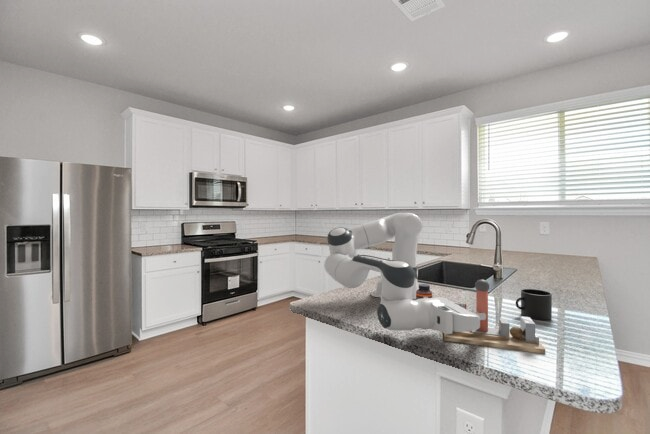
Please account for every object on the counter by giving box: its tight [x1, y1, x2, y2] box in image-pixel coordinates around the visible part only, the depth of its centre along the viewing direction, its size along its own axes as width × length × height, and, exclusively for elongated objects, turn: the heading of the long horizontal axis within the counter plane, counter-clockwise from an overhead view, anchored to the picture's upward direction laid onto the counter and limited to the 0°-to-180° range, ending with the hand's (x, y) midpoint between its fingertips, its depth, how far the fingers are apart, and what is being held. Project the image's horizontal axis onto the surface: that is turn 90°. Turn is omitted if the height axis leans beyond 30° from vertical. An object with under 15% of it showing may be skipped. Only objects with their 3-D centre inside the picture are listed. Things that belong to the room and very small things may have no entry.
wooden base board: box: [443, 327, 546, 355], centre depth 94 cm, size 26×12×2 cm, turn 69°
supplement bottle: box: [415, 283, 433, 300], centre depth 117 cm, size 6×6×11 cm
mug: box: [515, 288, 553, 321], centre depth 114 cm, size 9×12×9 cm
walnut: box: [509, 325, 523, 339], centre depth 92 cm, size 3×3×3 cm
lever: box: [471, 279, 510, 340], centre depth 94 cm, size 10×5×17 cm, turn 69°
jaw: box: [520, 315, 540, 345], centre depth 91 cm, size 3×6×6 cm, turn 159°
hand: (474, 310), depth 94 cm, fingers open, 8 cm apart
